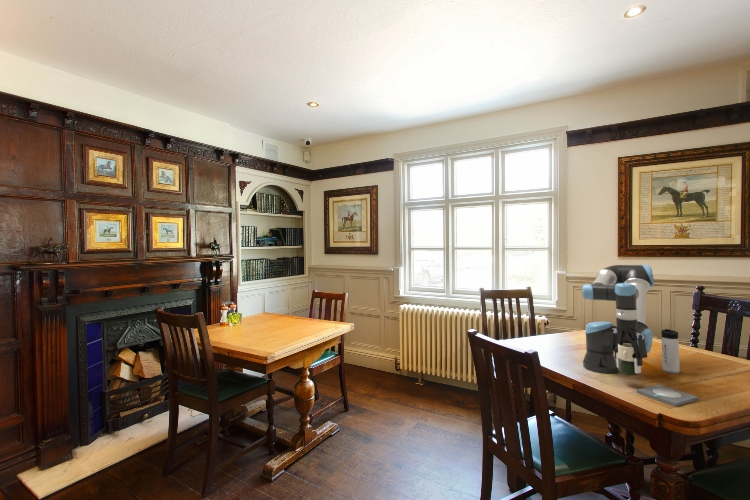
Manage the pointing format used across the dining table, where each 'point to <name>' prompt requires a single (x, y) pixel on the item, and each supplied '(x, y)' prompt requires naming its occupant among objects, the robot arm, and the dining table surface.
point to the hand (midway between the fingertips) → (628, 369)
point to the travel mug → (670, 351)
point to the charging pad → (667, 395)
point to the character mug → (627, 359)
